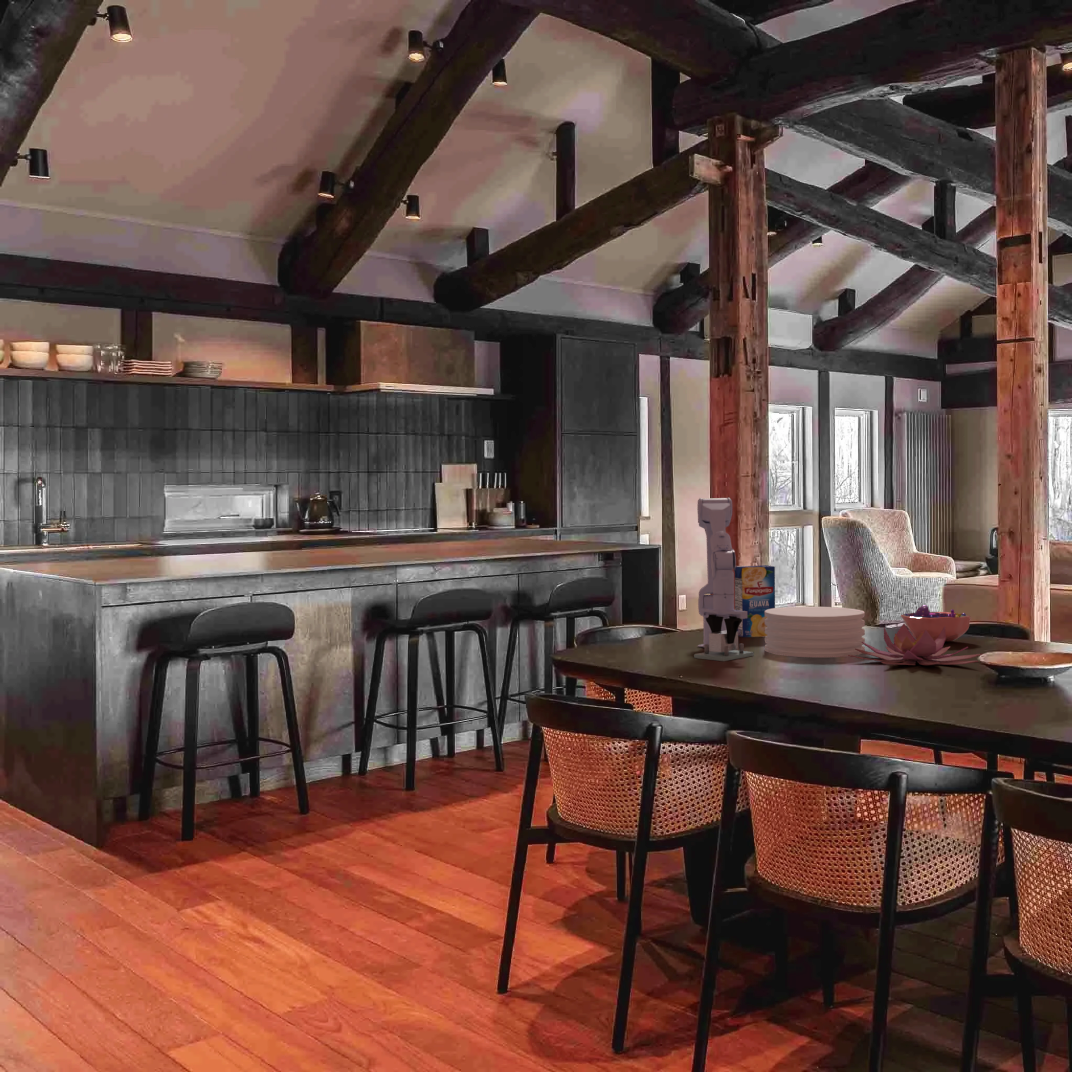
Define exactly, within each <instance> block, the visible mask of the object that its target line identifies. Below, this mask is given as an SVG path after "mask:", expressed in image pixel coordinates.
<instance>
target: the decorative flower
mask: <svg viewBox="0 0 1072 1072" xmlns="http://www.w3.org/2000/svg"><path fill="white" fill-rule="evenodd" d="M883 640H884V642H885V644H886V646H885V649H886V650H887V651H885V650H880V649H878V648H875V647H874V646H871V644H868V643H866V642H865V643H864V642H862V643H863V644H864V645H863V646H864V647H865V646H866V647H867V648H868V649H869V650H872V651H873V652H872V651H867V650H865V651H863V650H859V649H855V650H857V651H859V652H861V653H863V654H864V655H868V656H871V657H875V658H876V659H875V658H869V657H862V656H858V655H854V656H852V655H848V656H847V657H851V658H855V659H856V658H857V659H860V660H867V661H877V662H881V664H884V665H887V666H889V665H893V666H894V665H895V666H896V665H899V666H900V665H901V666H903V665H904V666H905V665H908V666H916V664H918V665H922V666H933V665H947V666H948V665H949V666H953V665H966V664H972V663H973V664H974V663H979V660H970V659H973V658H976V657H980V656H983V655H984V653H977V654H966V655H964V654H963V655H955V654H958V653H961V652H962V651H964V650H966V649H969V646H966V647H963V648H961V649H960V650H958V651H955V652H953V653H948V654H945V653H946V652H947V651H948V650H949V649H950V648H951V646H946V647H944V644H945V642H946V641H945V640H946V634H945V627H944V628H943V630H942V631H941V633H940V635H939V636H938V638H937V639H936V640H935V641H934V640H933V637H931V636H930V634H929V633H928V632H927V630H925V632H924V633H921V634H920V635H919V637H918V638H917V639H916V638H914V637H913V635H912V633H911V631H910V630H909V629H908V627H907V626H906V624H905V623H903V624H902V625H901V627H900V628H899V630H898V631H897V633H894V637H893V641H892V640H891V638H890V636H889V633H888V632H887V630H886V627H883ZM877 658H878V659H877Z"/></svg>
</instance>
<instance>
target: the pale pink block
mask: <svg viewBox="0 0 1072 1072" xmlns="http://www.w3.org/2000/svg"><path fill="white" fill-rule="evenodd" d="M724 646H728V647H729V651H731V650H739V636H738V631H737V632H736V636H735V640H734V643H732V644H728V642H727V630H726V631H720V632H713V633H709V652H710V651H713V652H724Z"/></svg>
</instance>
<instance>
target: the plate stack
mask: <svg viewBox="0 0 1072 1072" xmlns="http://www.w3.org/2000/svg"><path fill="white" fill-rule="evenodd" d="M865 613H866V612H865V611H864V610H862V609H857V608H849V607H835V606H784V607H775V608H773V609H768V610H765V616H766V617H767V619H765V625H766V626H767V627H766V628H765V634H767V636H765V637H764V642H765V645H764V651H765V652H767V653H769V654H772V655H773V654H774V655H778V656H785V657H786V656H787V657H798V658H843V657H849V656H848V655H852V656H859V655H862V654H863V653H861V652H859V651H857V650H855V649H859V650H863V651H866V648H865V645H864V644H863V643H862V642H864V643H866V641H865V640H866V639H865V637H864V636H865V634H866V631H865V629H864V628H863V627H865V625H866V622H865V620H864V619H863V618H865V617H866V616H865Z"/></svg>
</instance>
